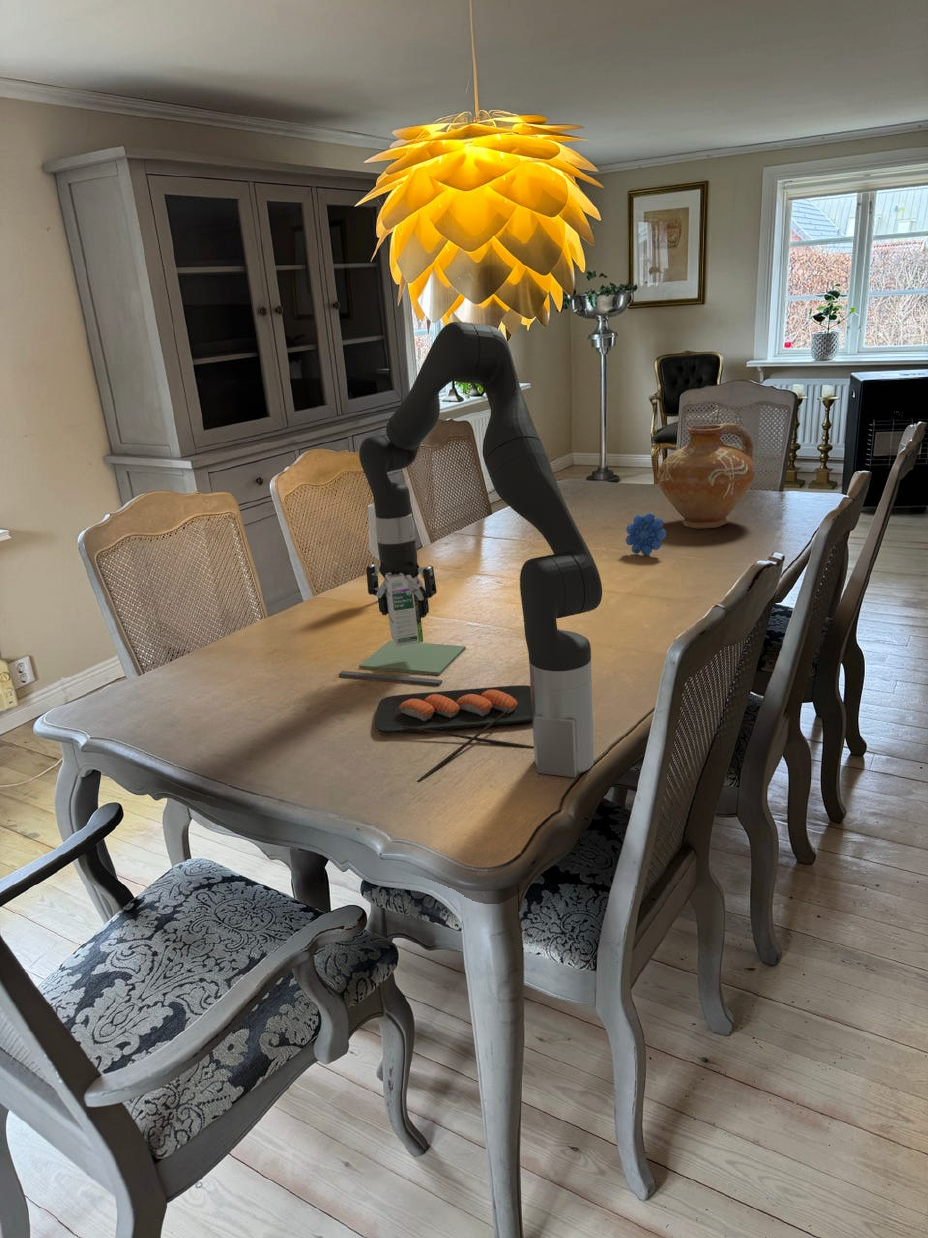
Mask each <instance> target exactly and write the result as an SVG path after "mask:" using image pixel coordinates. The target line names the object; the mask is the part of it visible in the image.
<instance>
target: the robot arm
mask: <svg viewBox="0 0 928 1238" xmlns="http://www.w3.org/2000/svg"><path fill="white" fill-rule="evenodd" d="M415 378H416V379H415V380H414V383H413V384H412V386H411V388H410V390H409V392H408V393H407V395H406V397H405V398H404V400H403V401H402V402H401V403H400V404H399V406H398V407H397V408H396V410H395V411H394V412H393V414H392V415H391V417H390V418H389V420H388V421H387V424H386V428H385V433H384V434H383V433H382V434H380V435H372V436H369V437H366V438H364V439H363V441H362V443H361V444H360V446H359V450H358V451H359V452H358V457H359V463H360V465H361V467H362V470H363V472H364V475H365V478H366V481H367V482H368V485H369V489H370V492H371V493H372V494H371V495H372V497H373V504H374V506H375V515H376V535H377V544H378V552H379V560H378V561H379V562H380V565H377V564H376V563H375V562H374V563H372V564H370V565H368V566H366V568H365V569H366V582H367V584H366V585H367V593H368V595H369V596H371V595H373V596H375V597H377V598H378V601H377V603H378V610H379V613H381V615H382V616H387V615H388V607H387V599H386V589H387V582H386V577H385V575H386V573H388V574H387V575H393V574H399V576H404V578H405V579H407V582H408V588H409V589H410V591H411V592H413V593H415V595H416V596H417V597H418V599H419V600H418V607H419V617H420V618H421V619H423V618H426V617H427V615H428V614H429V613H430V605H429V599H431V598H432V597H433V596H435V595H436V594H437V592H438V589H437V584H436V578H435V571H434V566H432V565H431V564H430V565H428V566H420V565H419V564H418V552H417V551H418V550H417V540H416V530H415V522H414V519H413V514H412V513H413V512H412V505H411V502H412V501H411V495H410V494H411V493H410V489H409V487H408V485H407V484H405V483H404V482H396V481H395V482H392V481H391V479H390V478H389V474H388V473H389V472H394V471H399V470H404V469H406V468H407V467H410V466H411V464H413V463H414V462H415V459H416V457H417V455H418V452H419V450H420V447H421V443H422V442H423V440H425V438H426V437H427V436H428V435H429V433H431V431H432V430H433V429H434V427H435V426H436V425H437V423H438V420H439V418H440V414H441V413H440V412H441V402H440V393H441V391H442V390H443V389H444V388H445V387H446V386H447V385H449V384H450V383H451V382H455V383H461V384H462V383H463V384H471V385H472V384H474V385H475V384H476V385H479V386H480V387H481V388H482V389H483V391H484V393H485V395H486V399H487V401H488V405H489V409H490V416H489V420H488V422H487V423H488V424H487V426H486V430H485V433H484V437H483V442H482V457H483V462H484V464H485V465H484V466H485V467H486V470H487V473H488V475H489V478H490V481H491V483H492V486H493V489H494V490H495V492H496V494H497V495H498V496H499V498H500V499H501V500H502V501H503V502H505V504H506V505H507V506H508V507H509V508H511V509H512V510H513V511H514V512H515V513H517V514H518V515H519V516H521V517H522V518H523V519H524V520H526V521H527V522H528V523H529V524H531V525H532V526H533V527H534V528H535V529H536V530H537V531H538V532H539V534H541V535H542V537H543V538H544V539H545V540H546V542H547V544H548V546H549V548H550V549H551V551H552V553H553V554H549V555H543V556H537V557H532V558H529V559H528V560H526V561H525V562H524V563H523V565H522V566H521V569H520V573H519V590H520V600H521V608H522V609H521V610H522V616H523V628H524V629H523V630H524V638H525V641H526V642H525V643H526V647H527V653H528V663H529V681H530V682H529V683H530V684H529V686H530V687H531V705H532V721H531V723H532V735H533V736H532V739H533V746H534V749H533V752H534V757H533V758H534V764H535V766H536V773H538V774H545V775H553V776H561V777H566V778H567V777H568V778H573V779H575V778H577V777H578V775H579V774H581V773H584V772H587V771H588V770H590V769H591V767H593V765H594V764H595V741H594V739H595V737H594V716H593V715H594V713H593V711H594V710H593V682H592V681H593V680H592V679H593V678H592V675H593V674H592V671H593V670H592V647H591V642H590V641H589V639H588V638H587V637H586V636H584V635H582V634H580V633H577V632H575V631H569V630H563V629H558V623H557V620H558V619H563V618H566V617H571V616H576V615H581V614H583V613H587V612H591V611H594V610H596V609H597V608H598V607H599V606H600V604H601V602H602V598H603V584H602V579H601V576H600V572H599V570H598V567H597V564H596V562H595V560H594V558H593V555H592V553H591V551H590V550H589V547H588V545H587V543H586V541H585V539H584V538H583V536H582V533H581V532H580V530H579V529H578V527H577V525H576V522H575V520H574V518H573V516H572V514H571V512H570V511H569V508H568V507H567V504H566V502H565V498H564V497H563V495H562V491H561V490H560V487H559V484H558V483H557V479H556V477H555V475H554V471H553V469H552V466H551V462H550V460H549V457H548V455H547V452H546V451H545V448H544V445H543V442H542V440H541V438H540V436H539V433H538V431H537V430H536V429H537V428H536V426H535V424H534V421H533V419H532V416H531V414H530V410H529V408H528V406H527V402H526V399H525V397H524V395H523V391H522V388H521V387H522V386H521V385H520V381H519V378H518V374H517V370H516V366H515V363H514V359H513V356H512V352H511V349H510V346H509V344H508V341H507V338H506V336H505V335H504V334H503V332H502V331H501V330H500V329H499V328H497V327H494V326H491V325H488V324H482V323H474V322H473V323H472V322H466V321H465V322H464V321H452V322H449V323H447V324H446V325H445V326H443V327H442V329H440V331H439V332H438V334H437V335H436V337H435V339H434V340H433V342H432V344H431V346H430V348H429V351H428V353H427V355H426V356H425V359H424V361H423V363H422V365H421V367H420V369H419V371H418V374H417V375H416V377H415ZM379 575H381V576H382V577H383V582H382V583H381V585H379ZM387 575H386V576H387ZM406 575H411V577H412V578H415V577H417V585H414V584H413V583H412V581H411V580H409V579H408V578H407V577H406ZM419 575H420V576H421V578H422V579H423V581H421V579H420V578H419V577H418V576H419ZM384 578H385V579H384ZM423 582H424V584H423Z"/></svg>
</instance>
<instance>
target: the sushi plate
mask: <svg viewBox="0 0 928 1238" xmlns="http://www.w3.org/2000/svg"><path fill="white" fill-rule="evenodd" d="M526 722H527V723H528V722H532V705H531V687H530V685H521V684H520V685H505V686H491V687H478V688H468V689H455V690H442V691H430V692H429V691H428V692H418V693H408V694H407V693H405V694H396V695H390V696H386V697H384V698H382V699H381V700H380V701H378V704H377V708H376V713H375V721H374V725H375V729H376V730H377V731H378V732H380V733H383V734H385V733H387V734H388V733H390V734H393V733H394V734H396V733H397V734H398V733H410V732H412V733H413V732H423V733H424V732H425V733H431V734H436V735H443V736H449V737H455V738H460V739H466V740H467V741H466V742H464V744H462V745H461V746H460V747H458V748H457V749H456V750H454V751H453V752H452V753H451V754H449V755H448V756H447V757H445V758H444V759H442V760H441V762H439V763H438V764H436V765H435V766H434V767H433V768H431V769H430V770H429V771H428V772H426V773H425V774H424V775H422V776H421V777H420V778H419V779H417V781H416V783H421V782H422V781H424V780H425V779H427V778H428V777H430V776H431V775H433V774H434V773H435V772H437V771H439V770H440V769H441V768H442V767H444V766H445V765H446V764H447V763H448V762H450V761H451V760H452V759H453V758H454V757H455V756H457V755H458V754H459V753H460V752H462V751H463V750H464V749H465V748H466V747H467V746H468V745H470V744H471V743H472V742H474V741H477V742H482V743H487V744H491V745H496V746H497V745H498V746H503V747H513V748H514V747H515V748H523V749H525V748H526V749H533V748H534V745H528V744H522V743H514V742H509V741H508V742H507V741H501V740H496V739H488V738H481V737H479V736H481V735H482V734H483V733H484V732H485V731H486V730H487V731H488V729H489V728H490V727H491V726H497V725H508V724H517V723H518V724H519V723H526ZM484 726H485V727H484ZM471 727H472V728H473V727H484V728H483V729H481V730H480V731H479V732H478V733H476V734H475V735H474V736H470V735H462V734H456V733H450V732H449V733H448V732H443V731H438V730H447V729H460V728H471ZM524 747H525V748H524Z"/></svg>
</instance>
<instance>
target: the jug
mask: <svg viewBox="0 0 928 1238" xmlns="http://www.w3.org/2000/svg"><path fill="white" fill-rule="evenodd" d="M686 429H687V433H688V434H689V438H690V440H689V443H688V444H687V445H686V446H682V447H680V448H679V449H677V450H675V451H673V452H672V453H671V454H669V455H668V456H666V458H665V459H664V460H663V461H662V462H661V464H660V465H659V467H658V469H657V475H656V477H657V478H656V479H657V482H658V484H659V487H660V489H661V491H662V493H663V494H664V497H666V499H667V500H668V501H669V502H670V504H671V505H672V507H674V509H675V511H676V512H677V513H679V514H680V516H681V517H682V518H683V521H682V524H683V526H684V527H687V528H691V529H699V530H700V529H716V528H719V527H720V528H721V527H722V526H723V525H726V524H727V523H728V519H727V516H729V514H730V513H731V512H732V511H733V509H734V508H735V507H736V506H737V505H738V504H739V502H740V501H741V500H742V498H744V496H745V494H746V493H747V491H748V490H749V489H750V487H751V484H752V482H753V481H754V480H753V479H754V477H755V464H754V441H753V438H752V436H751V435H752V434H750V433H749V431H748V430H747V429H746V428H745V427H743V426H740V425H739V424H737V423H731V422H730V423H727V422H724V423H719V424H715V423H714V424H702V425H695V426H689V427H687V428H686ZM726 434H727V435H728V434H733V435H734V436H737V437H738V439H740V441H741V442H742V447H740V448H738V447H736V446H734V445H730V444H728V443H724V442H723V440H721V438H722V436H723V435H726Z"/></svg>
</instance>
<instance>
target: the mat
mask: <svg viewBox="0 0 928 1238" xmlns="http://www.w3.org/2000/svg"><path fill="white" fill-rule="evenodd" d="M466 649H467V647H466V646H465V645H457V644H454V645H453V644H452V645H451V644H442V643H441V644H440V643H429V642H428V643H427V642H420V643H413V644H407V645H401V646H398V647H397V646H396V645H395V643H394V641H393V640H388V641H387V642H386V643H384V644H383V645H382V646H380V648H379V649H377V650H376V651H375V652H373V654H371V655H370V656H369V657H367V658H366V659H365V660H364V661H362V662H360V664H359V665H358V667H359V669H365V670H366V669H367V670H380V671H388V672H389V671H391V672H401V673H410V674H411V673H412V674H422V675H434V676H441V675H442V673H444V671H445V670H446V669H447V668H448V667H449V666H450V665H452V664H453V663H454V662H455V660H456V659H457V658H459V657H460V655H461V654H462V653H463V652H465V650H466Z"/></svg>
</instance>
